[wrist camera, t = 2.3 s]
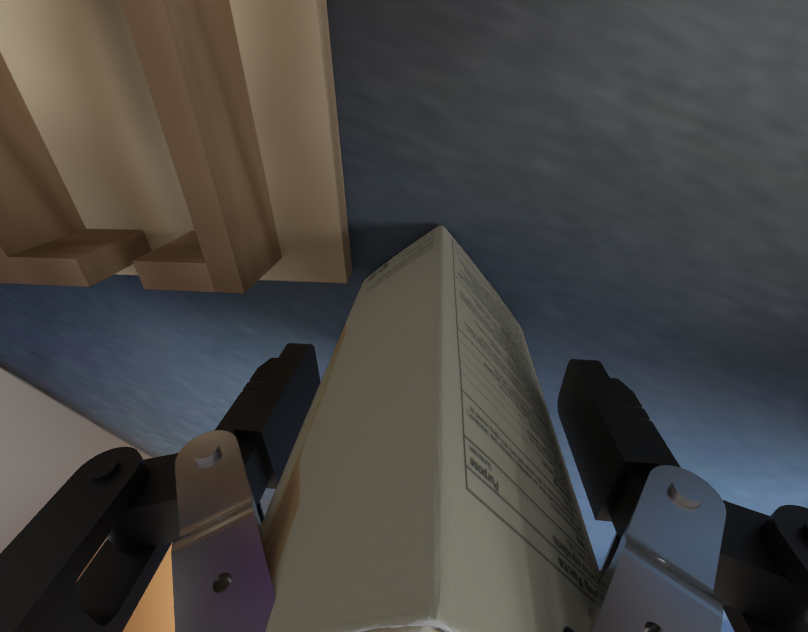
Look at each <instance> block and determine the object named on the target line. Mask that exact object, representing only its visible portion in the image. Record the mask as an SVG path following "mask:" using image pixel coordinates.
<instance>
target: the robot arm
mask: <svg viewBox="0 0 808 632" xmlns="http://www.w3.org/2000/svg"><path fill="white" fill-rule="evenodd" d="M319 385H320V377H319V371H318V365H317V359H316V354H315V349H314V346H313V345H312V344H296V343H289V344H287V345H286V347H285V348H284V350H283V352H282V353H281V355H280V356H279V358H270V359H269V360H268V361H266V362H265V363H264V364H262V365H261V366H260V367H258V369H257V370H256V371H255V373H254V374H253V376H252V377H251V379H250V382H248V383H247V384H246V386H245V387H244V389H243V392H241V393H240V395H239V396H238V397H237V399H236V400H235V402H234V403H233V405H232V406H231V408H230V409H229V410H228V412H227V413H226V415H225V416H224V418H223V419H222V421H221V422H220V423H219V425H218V426H217V428H216V429H215V430H214V431H211V432H207V433H204V434H202V435H199V436H198V437H196V438H194V439H193V440H191V441H190V442H188V443H187V444H186V445H185V446H184V447H183V448H182V449H181V451H180V452H179V453H176V454H171V455H166V456H161V457H156V458H150V459H145V460H143V458H142V457H141V455H140V453H139V452H138V451H137V450H136V449H134V448H131V447H119V448H114V449H111V450H108V451H105V452H103V453H101V454H99V455H97V456H95V457H94V458H92V459H90V460H89V461H87V462H86V463H85V464H83V465H82V466H81V467H80V468H79V469H78V470H77V471H76V472H75V473H74V474H73V475H72V476H71V477H70V479H69V480H68V481H67V482H66V483H65V484H64V485H63V486H62V487H61V488H60V490H59V491H58V492H57V493H56V494H55V495H54V496H53V497H52V498H51V499H50V500H49V501H48V503H47V504H46V505H45V506H44V507H43V508H42V509H41V510H40V511H39V512H38V514H37V515H36V516H35V517H34V518H33V519H32V520H31V521H30V522H29V523H28V524H27V525H26V526H25V528H24V529H23V530H22V531H21V532H20V533H19V534H18V535H17V536H16V537H15V539H14V540H13V541H12V542H11V543H10V544H9V545H8V546H7V547H6V548H5V549H4V550H3V552H2V553H1V554H0V632H122V631H123V630H124V628H125V626H126V624H127V622H128V621H129V619H130V617H131V615H132V614H133V612H134V610H135V608H136V606H137V604H138V603H139V601H140V599H141V597H142V596H143V594H144V592H145V590H146V588H147V587H148V585H149V583H150V581H151V579H152V577H153V576H154V574H155V572H156V570H157V569H158V567H159V565H160V563H161V561H162V560H163V558H164V556H165V554H166V552H167V551H168V549H169V547H170V545H171V543H172V542H173V543H172V550H171V556H172V576H173V595H174V614H175V632H265V631H266V628H267V625H268V621H269V618H270V615H271V612H272V609H273V605H274V602H275V599H276V598H275V593H274V588H273V583H272V578H271V573H270V568H269V564H268V559H267V554H266V549H265V544H264V539H263V534H262V529H261V524H262V522H263V520H264V517H265V516H264V512H263V508H262V505H261V502H260V499H261V497H262V495H263V493H264V491H265V489H266V488H272V489H276V488H277V486H278V484H279V481H280V479H281V476H282V474H283V471H284V469H285V466H286V464H287V462H288V459H289V457H290V454H291V452H292V449H293V447H294V444H295V442H296V440H297V437H298V435H299V433H300V430H301V428H302V426H303V423H304V420H305V418H306V416H307V414H308V412H309V409H310V407H311V404H312V402H313V399H314V397H315V394H316V392H317V390H318V387H319ZM558 413H559V417H560V420H561V423H562V426H563V429H564V432H565V434H566V437H567V440H568V443H569V446H570V449H571V451H572V454H573V457H574V460H575V463H576V466H577V469H578V471H579V474H580V477H581V480H582V483H583V486H584V489H585V491H586V494H587V497H588V500H589V503H590V506H591V508H592V511H593V514H594V517H595V520H602V521H612V522H613V525H614V527H615V530H616V534H615V536H614V537H613V540H612V542H611V544H610V547H609V549H608V552H607V554H606V556H605V559H604V561H603V564H602V566H601V568H600V571H599V575H598V579H597V582H596V583H597V587H596V589H595V591H594V593H593V597H592V600H591V604H590V607H589V611H588V615H589V617H590V618H591V620H592V622H591V625H590V628H589V630H588V632H721V626H722V619H723V609H724V611H725V613H726V615H727V617H728V619H729V621H730V623H731V625H732V627H733V629H734V631H735V632H808V508H805V507H801V506H796V505H784V506H781V507H779V508H778V509H777V510H776V511H775V512H774V513H773V514H772V515H771V516H768V515H765V514H762V513H759V512H756V511H753V510H750V509H747V508H744V507H741V506H738V505H735V504H732V503H729V502H727V501H724V500H722V498H721V497H720V495H719V494H718V493H717V492H716V490H715V489H714V488H713V487H712V486H711V485H710V484H708V483H707V482H706V481H705V480H703V479H702V478H700V477H699V476H697V475H696V474H694V473H692V472H690V471H688V470H685V469H683V468H681V467H680V466H679V464H678V462H677V461H676V459H675V458H674V456H673V454H672V453H671V451H670V450H669V448H668V447H667V445H666V443H665V442H664V440H663V439H662V437H661V435H660V434H659V432H658V431H657V429H656V427H655V426H654V424H653V423H652V421H650V420H649V416H648V415H647V413H646V412H645V410H644V409H642V405H641V404H640V402H639V400H638V399H637V397H636V396H635V394H634V393H633V391H632V390H630V389H629V388H628V387H627V386H626V385H625V384H623V383H622V382H621V381H620V380H619V379H614V378H609V376H608V374H607V372H606V371H605V369H604V367H603V365H602V364H601V363H600V362H599V361H596V360H578V359H571V360H570V361H569V363H568V366H567V369H566V373H565V376H564V379H563V383H562V386H561V389H560V393H559V396H558ZM106 538H108V539H107V540H106V542H105V543H104V545H103V546H102V547H101V549H100V550H99V551H98V553H97V554H96V556H95V557H94V558H93V560H92V561H91V563H90V564H89V566H88V567H87V569H86V570H85V571H84V573H83V574H82V576H81V577H80V578H79V580H78V581H77V579H78V577H79V576H80V574H81V573H82V572H83V570H84V569H85V567H86V566H87V564H88V563H89V562H90V560H91V559H92V557H93V556H94V555H95V553H96V552H97V550H98V549H99V547H100V546H101V545H102V543H103V542H104V540H105V539H106ZM76 581H77V583H76ZM563 632H574V630H573V629H571V628H570V627H568V626H567V627H565V628H564V629H563Z"/></svg>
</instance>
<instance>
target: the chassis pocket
mask: <svg viewBox="0 0 808 632" xmlns="http://www.w3.org/2000/svg"><path fill="white" fill-rule="evenodd" d="M352 273H353V271H352V261H351V251H350V241H349V230H348V220H347V210H346V199H345V189H344V179H343V169H342V158H341V148H340V138H339V127H338V117H337V107H336V96H335V86H334V76H333V66H332V55H331V45H330V35H329V24H328V14H327V4H326V0H0V283H10V284H34V285H57V286H81V287H91V286H93V285H95V284H96V283H98V282H100V281H102V280H104V279H106V278H108V277H110V276H112V275H114V274H118V275H138V276H139V278H140V280H141V283H142V285H143V287H144V289H151V290H174V291H198V292H221V293H245V292H246V291H248V290H249V289H250V288H251V287H252V286H253V285H254V284H255V283H256V282H257V281H258V280H274V281H300V282H326V283H347V282H348V280H349V278H350V277H351V275H352Z"/></svg>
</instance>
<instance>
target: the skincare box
mask: <svg viewBox="0 0 808 632" xmlns="http://www.w3.org/2000/svg"><path fill="white" fill-rule="evenodd" d="M261 529H262V534H263V539H264V544H265V549H266V554H267V559H268V564H269V568H270V573H271V578H272V583H273V588H274V593H275V598H276V599H275V602H274V605H273V609H272V612H271V615H270V618H269V621H268V625H267V628H266V631H265V632H563V629H564V628H565V627H567V626H568V627H570V628H571V629H573V630H574V632H588V630H589V628H590V625H591V622H592V620H591V618H590V617H589V615H588V611H589V607H590V604H591V600H592V597H593V593H594V591H595V589H596V587H597V583H596V582H597V579H598V575H599V568H598V565H597V562H596V559H595V555H594V552H593V549H592V546H591V543H590V540H589V537H588V533H587V530H586V527H585V524H584V521H583V518H582V514H581V511H580V508H579V505H578V502H577V499H576V496H575V493H574V489H573V486H572V483H571V480H570V477H569V474H568V471H567V468H566V465H565V461H564V458H563V455H562V452H561V449H560V446H559V443H558V440H557V437H556V434H555V431H554V428H553V424H552V421H551V418H550V415H549V412H548V409H547V406H546V403H545V400H544V397H543V393H542V390H541V387H540V384H539V381H538V378H537V375H536V372H535V369H534V366H533V363H532V359H531V356H530V353H529V350H528V346H527V343H526V340H525V337H524V334H523V331H522V328H521V327H520V325H519V324H518V322H517V321H516V319H515V318H514V316H513V315H512V313H511V312H510V310H509V309H508V308H507V306H506V305H505V304H504V302H503V301H502V299H501V298H500V297H499V295H498V294H497V293H496V291H495V290H494V289H493V287H492V286H491V285H490V283H489V282H488V281H487V279H486V278H485V277H484V276H483V274H482V273H481V272H480V270H479V269H478V268H477V266H476V265H475V264H474V263H473V261H472V260H471V259H470V258H469V256H468V255H467V254H466V252H465V251H464V250H463V249H462V248H461V246H460V245H459V244H458V243H457V241H456V240H455V239H454V238H453V237H452V235H451V234H450V233H449V232H448V230H447V229H446V228H445V227H444V226H442V225H440V226H438V227H436V228H435V229H433V230H432V231H430V232H429V233H427V234H426V235H424V236H423V237H421V238H420V239H418V240H417V241H416V242H414V243H413V244H411V245H410V246H409V247H407V248H405V249H404V250H403V251H401V252H400V253H398V254H397V255H396V256H394V257H393V258H392V259H390V260H389V261H388V262H386V263H385V264H384V265H382V266H381V267H380V268H378V269H377V270H376V271H375V272H373V273H372V274H371V275H370V276H368V277H367V278H366V279H365V280H364V281H363V283H362V285H361V288H360V290H359V293H358V295H357V297H356V299H355V302H354V304H353V307H352V309H351V311H350V314H349V316H348V319H347V321H346V323H345V326H344V328H343V331H342V333H341V335H340V338H339V340H338V343H337V345H336V347H335V350H334V352H333V354H332V357H331V359H330V362H329V364H328V366H327V369H326V371H325V373H324V376H323V378H322V380H321V382H320V385H319V387H318V390H317V392H316V394H315V397H314V399H313V402H312V404H311V407H310V409H309V412H308V414H307V416H306V418H305V420H304V423H303V426H302V428H301V430H300V433H299V435H298V437H297V440H296V442H295V444H294V447H293V449H292V452H291V454H290V457H289V459H288V462H287V464H286V466H285V469H284V471H283V474H282V476H281V479H280V481H279V484H278V486H277V488H276V491H275V493H274V495H273V497H272V500H271V502H270V505H269V507H268V510H267V512H266V515H265V517H264V520H263V522H262V524H261Z"/></svg>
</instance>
